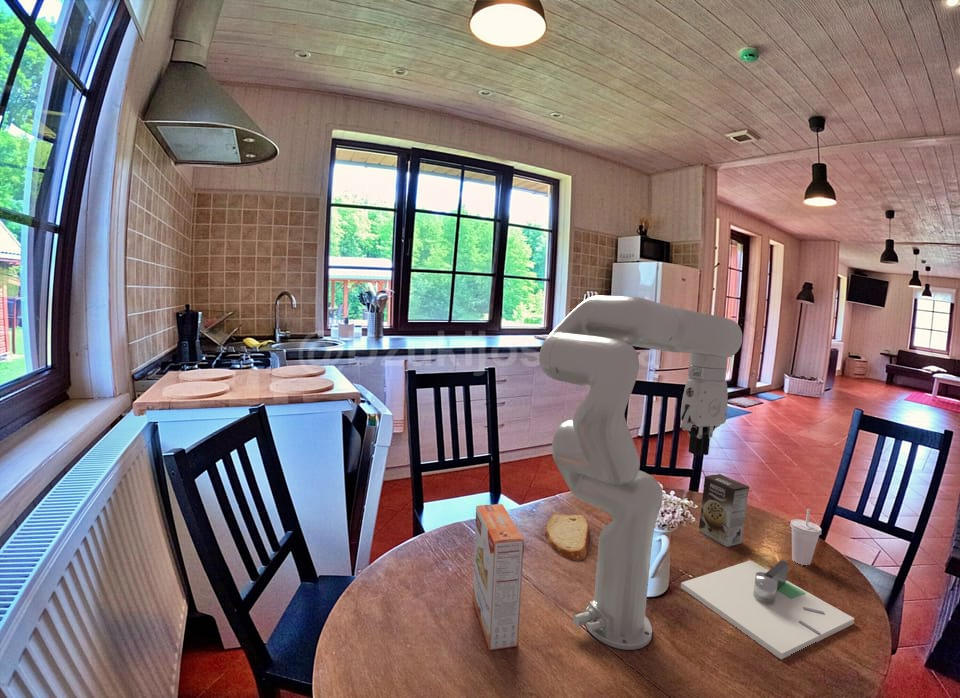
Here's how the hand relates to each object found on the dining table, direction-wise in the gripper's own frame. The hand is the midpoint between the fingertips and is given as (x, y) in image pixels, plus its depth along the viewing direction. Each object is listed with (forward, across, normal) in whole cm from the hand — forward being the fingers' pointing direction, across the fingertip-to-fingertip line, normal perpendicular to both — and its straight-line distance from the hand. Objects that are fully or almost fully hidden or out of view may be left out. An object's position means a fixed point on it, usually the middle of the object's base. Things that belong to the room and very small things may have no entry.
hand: (698, 453), depth 105 cm
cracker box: (+29, -50, +2) cm, 58 cm away
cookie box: (+29, +23, +8) cm, 38 cm away
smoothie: (+29, +32, -8) cm, 44 cm away
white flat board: (+29, +6, -15) cm, 33 cm away
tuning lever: (+27, +10, -14) cm, 32 cm away
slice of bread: (+30, -16, +23) cm, 41 cm away
